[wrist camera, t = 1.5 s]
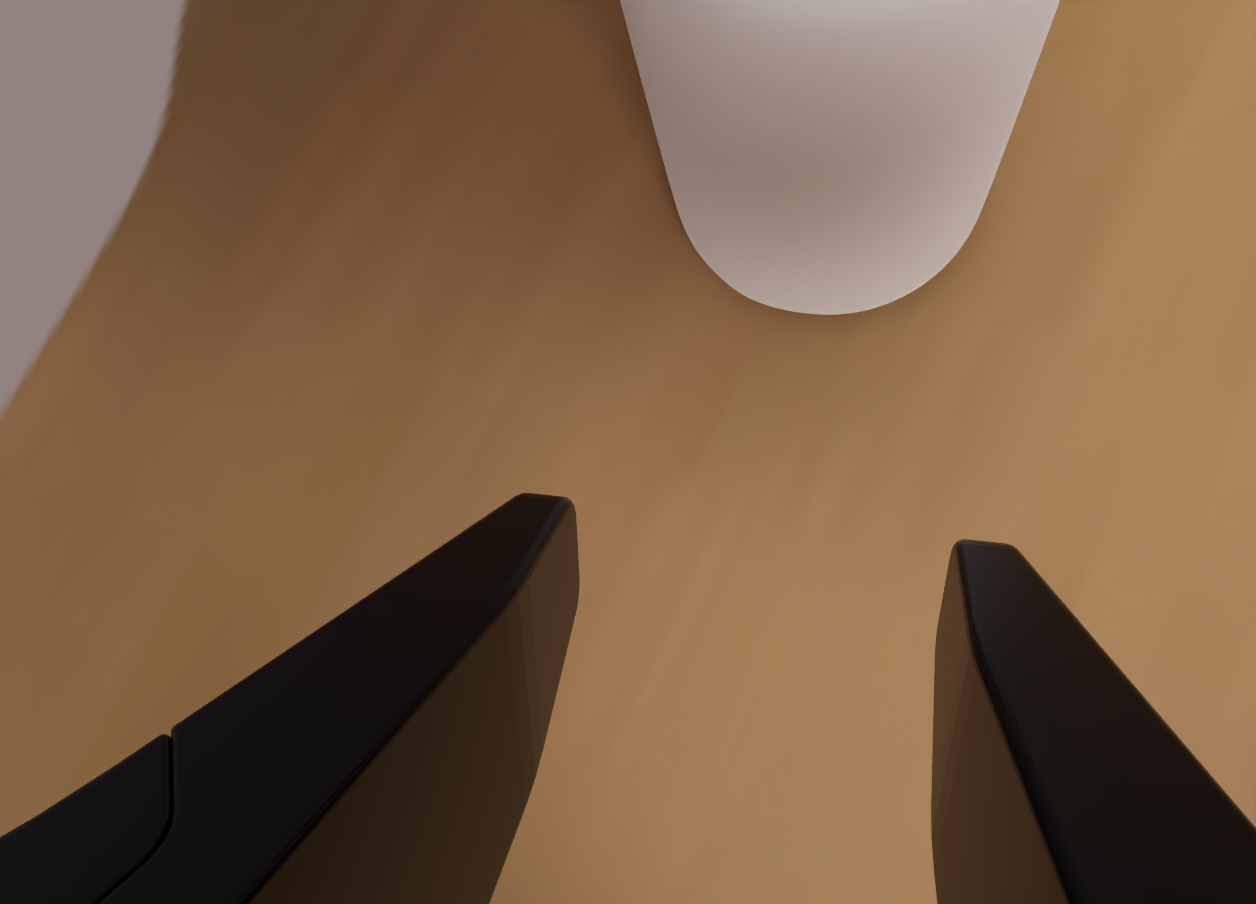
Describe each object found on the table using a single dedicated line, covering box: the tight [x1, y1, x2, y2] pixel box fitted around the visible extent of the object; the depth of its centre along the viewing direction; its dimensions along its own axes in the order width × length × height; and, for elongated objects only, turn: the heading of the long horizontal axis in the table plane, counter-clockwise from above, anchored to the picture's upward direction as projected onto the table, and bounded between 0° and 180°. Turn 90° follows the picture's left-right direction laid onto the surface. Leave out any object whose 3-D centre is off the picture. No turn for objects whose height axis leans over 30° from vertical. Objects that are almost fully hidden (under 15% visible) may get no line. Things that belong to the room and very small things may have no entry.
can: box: [620, 0, 1060, 315], centre depth 18 cm, size 6×6×12 cm
